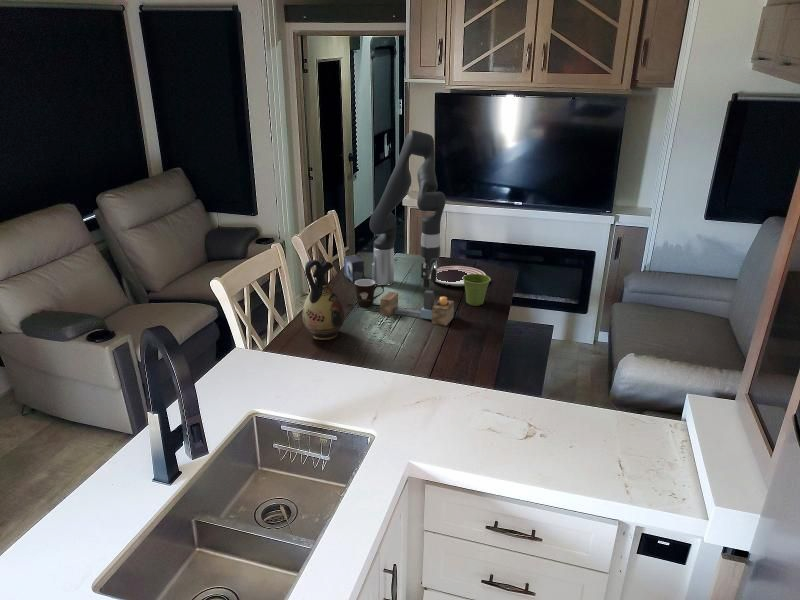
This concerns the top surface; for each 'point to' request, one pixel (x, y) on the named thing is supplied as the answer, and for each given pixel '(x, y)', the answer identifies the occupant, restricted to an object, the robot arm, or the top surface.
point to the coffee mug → (366, 292)
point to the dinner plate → (459, 268)
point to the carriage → (428, 304)
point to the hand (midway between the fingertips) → (430, 284)
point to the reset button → (443, 301)
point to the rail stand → (439, 313)
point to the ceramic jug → (322, 304)
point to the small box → (353, 267)
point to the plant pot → (475, 288)
